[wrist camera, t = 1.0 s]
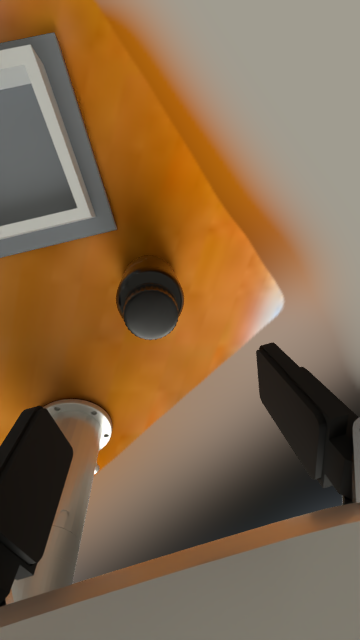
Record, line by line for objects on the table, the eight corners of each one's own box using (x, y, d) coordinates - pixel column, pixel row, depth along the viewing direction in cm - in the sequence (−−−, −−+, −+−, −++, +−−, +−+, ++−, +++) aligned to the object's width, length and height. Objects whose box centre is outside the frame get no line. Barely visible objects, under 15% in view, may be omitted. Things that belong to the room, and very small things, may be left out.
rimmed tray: (117, 229, 27) (113, 230, 24) (-17, 261, 26) (-39, 267, 23) (58, 40, 20) (42, 7, 17) (-126, 78, 19) (-179, 49, 16)
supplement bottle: (130, 247, 28) (120, 264, 17) (181, 263, 30) (203, 288, 19) (118, 298, 30) (103, 341, 19) (166, 310, 32) (177, 356, 21)
